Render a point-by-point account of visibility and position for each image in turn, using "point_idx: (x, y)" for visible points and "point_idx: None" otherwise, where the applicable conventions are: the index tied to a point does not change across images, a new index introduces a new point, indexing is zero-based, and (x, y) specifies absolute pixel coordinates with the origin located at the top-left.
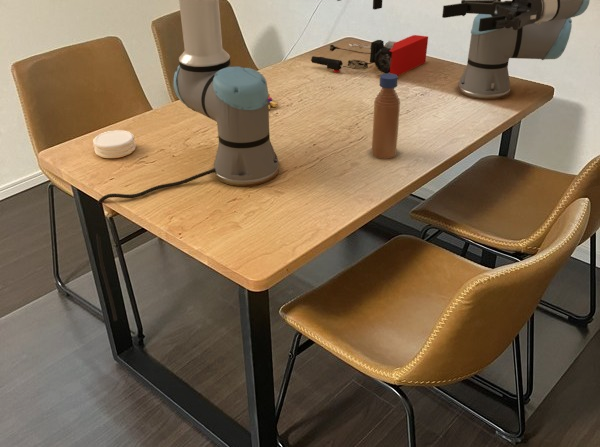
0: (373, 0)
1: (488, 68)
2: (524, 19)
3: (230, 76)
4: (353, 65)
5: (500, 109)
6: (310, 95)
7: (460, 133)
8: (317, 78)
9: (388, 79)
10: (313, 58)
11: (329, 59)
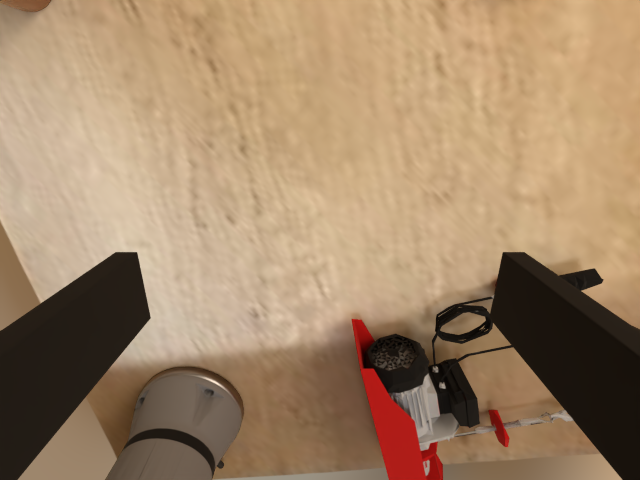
0: (93, 280)
1: (133, 436)
2: None
3: None
4: (465, 309)
5: None
6: (446, 117)
7: (39, 213)
8: (515, 220)
9: None
10: (592, 275)
11: None
